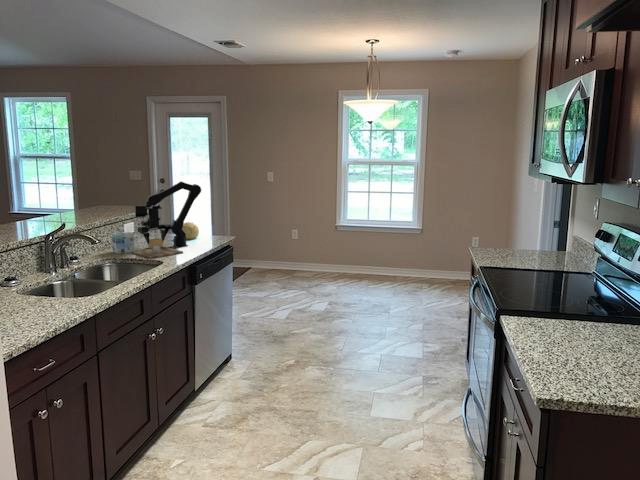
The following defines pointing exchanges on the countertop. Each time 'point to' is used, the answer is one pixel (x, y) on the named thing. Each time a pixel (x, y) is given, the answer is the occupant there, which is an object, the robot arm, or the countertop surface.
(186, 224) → the sculpture
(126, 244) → the light bulb box
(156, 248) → the grey metal block
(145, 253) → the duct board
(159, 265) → the countertop surface
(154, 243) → the collar
